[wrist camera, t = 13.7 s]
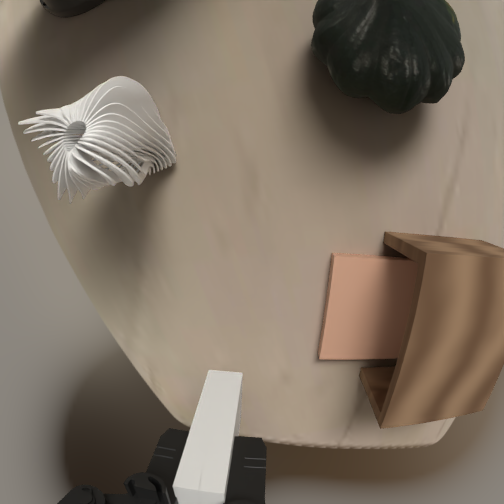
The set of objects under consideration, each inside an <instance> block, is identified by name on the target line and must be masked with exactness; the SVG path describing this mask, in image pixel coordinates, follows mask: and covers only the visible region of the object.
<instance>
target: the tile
mask: <svg viewBox="0 0 504 504" xmlns="http://www.w3.org/2000/svg"><path fill="white" fill-rule="evenodd" d="M417 269H418V263H416V262H414V261H413V260H411V259H410V258H403V257H389V256H374V255H360V254H345V253H332V256H331V265H330V273H329V281H328V289H327V296H326V304H325V311H324V317H323V324H322V330H321V337H320V343H319V349H318V355H319V359H397V358H398V356H399V352H400V348H401V344H402V341H403V337H404V333H405V329H406V324H407V320H408V316H409V311H410V306H411V302H412V297H413V292H414V286H415V281H416V275H417Z"/></svg>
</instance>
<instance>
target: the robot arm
mask: <svg viewBox="0 0 504 504" xmlns="http://www.w3.org/2000/svg"><path fill="white" fill-rule="evenodd" d="M103 1H105V0H40V2H41V4H42V6H43V7H44V8H45V9H46V10H48V11H49V12H51V13H52V14H54V15H56V16H59V17H70V16H75V15H78V14H81V13H83V12H86V11H88V10H90V9H92V8H94V7H95V6H97V5H99V4H100V3H102V2H103ZM242 375H243V373H240V372H228V371H217V370H209V371H208V374H207V378H206V381H205V384H204V387H203V390H202V394H201V397H200V400H199V403H198V406H197V409H196V413H195V416H194V419H193V422H192V425H191V429H190V431H182V430H177V429H171V428H169V429H168V430H167V431H166V432H165V433H164V434H163V435H161V437H160V439H159V442H158V444H157V448H156V449H155V452H154V455H153V456H152V459H151V462H150V464H149V466H148V469H147V472H146V473H143V472H142V473H137V474H133V475H132V476H130V477H128V478H127V479H126V481H125V482H124V485H125V487H126V489H127V492H128V493H127V494H103V493H102V492H101V491H100V490H98V488H96V487H93V486H91V485H81V486H77V487H75V488H73V489H72V490H71V491H70V492H69V493H68V494H67V495H66V496H65V497H64V498H63V499H62V500H61V501H60V502H59V503H58V504H265V475H266V446H265V444H264V442H263V440H262V438H255V437H241V436H239V428H240V421H241V404H242Z"/></svg>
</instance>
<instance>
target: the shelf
mask: <svg viewBox="0 0 504 504" xmlns="http://www.w3.org/2000/svg"><path fill="white" fill-rule="evenodd" d="M384 243H385V244H387V245H388V246H390V247H392V248H393V249H395V250H397V251H398V252H400V253H401V254H403V255H405V256H406V257H408V258H410V259H411V260H413V261H414V262H416V263H418V269H417V275H416V281H415V286H414V292H413V297H412V302H411V306H410V311H409V316H408V320H407V324H406V329H405V333H404V337H403V341H402V344H401V348H400V352H399V356H398V359H397V363H396V366H390V367H368V368H361V371H360V375H359V376H360V378H361V381H362V383H363V386H364V388H365V391H366V393H367V396H368V398H369V401H370V403H371V406H372V408H373V411H374V414H375V416H376V419H377V421H378V424H379V427H380V429H381V428H391V427H399V426H406V425H413V424H420V423H426V422H432V421H437V420H442V419H448V418H452V417H457V416H462V415H466V414H470V413H474V412H478V411H482V410H483V409H484V407H485V405H486V403H487V401H488V399H489V397H490V394H491V392H492V390H493V388H494V386H495V383H496V381H497V379H498V377H499V374H500V372H501V369H502V367H503V364H504V249H503V248H501V247H498V246H495V245H493V244H490V243H487V242H484V241H482V240H472V239H462V238H452V237H441V236H430V235H419V234H408V233H396V232H385V235H384Z"/></svg>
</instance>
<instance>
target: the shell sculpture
mask: <svg viewBox="0 0 504 504" xmlns="http://www.w3.org/2000/svg"><path fill="white" fill-rule="evenodd" d="M36 114H40V115H44V116H39V117H34V118H30V119H26V120H23V121H20V122H18V124H19V125H20V124H31V123H39V124H36V125H34V126H31V127H29V128H28V129H26V130H24V131H23V134H26V133H31V132H36V131H43V132H41V133H40V134H38V135H37V136H35V137H34V138H33V139H31V142H32V141H35V140H38V139H42V138H45V137H50V136H54V137H52V138H51V139H49V140H48V141H46V142H45V143H43V144H42V145H40V146H39V147H38V149H39V148H41V147H43V146H45V145H48V144H50V143H53V142H56V141H59V142H58V143H56V144H55V145H53V146H52V147H50V148H49V149H48V150H46V151H45V152H44V153H43V154H44V155H47V154H49V153H50V152H52V151H54V150H55V151H54V152H53V153H52V154H51V155H50V156H49V157H48V159H47V161H48V162H52V163H51V165H50V170H51V171H54V173H53V177H52V182H53V183H56V182H57V181H58V200H60V199H61V197H62V195H63V193H64V192H65V190H66V188H67V189H68V193H69V201H70V204H71V203H72V200H73V197H74V195H75V193H76V192H77V190H78V189H79V191H80V192H81V194H82V197H83V199H84V198H85V196H86V194H87V193H88V192H89V190H90V189H93V190H98V189H100V188H102V187H103V186H108V185H110V184H111V185H113V186H115V184H116V183H119V182H124V184H125V185H127V186H130V187H132V186H133V185H134V182H137V184H138V185H140V184H141V183H142V182H143V180H144V179H145V177H146V175H147V173H148V172H149V175H151V167H153V173H155V167H154V163H155V164H156V169H157V172H158V171H159V167H160V169H161V170H163V167H164V168H167V165H168V166H170V167H171V166H172V163H175V162H176V158H175V157H176V152H175V149H174V147H173V144H172V141H171V137H170V134H169V132H168V128H167V127H166V126H165V125H164V123H163V121H162V120H161V118H160V114H159V111H158V108H157V106H156V104H155V102H154V100H153V99H152V97H151V95H150V94H149V93H148V91H147V90H146V89H145V88H144V87H143V86H142V85H141V84H140V83H138V82H137V81H135V80H132V79H130V78H128V77H125V76H117V77H113V78H111V79H109V80H107V81H106V82H104V83H102V84H100V85H99V86H97V87H96V88H95V89H93V90H92V92H90V93H88V94H87V95H85V96H84V97H83V98H81V99H80V100H78V101H76V102H74V103H72V104H71V105H66V106H63V107H61V108H57V109H47V110H40V111H37V112H36ZM44 130H45V131H44ZM56 131H64V132H56ZM53 132H54V133H53ZM73 134H84V135H73ZM69 135H70V136H69ZM78 137H83V138H78ZM60 140H61V141H60ZM144 150H146V151H149V152H152V153H154V154H155V155H156V156H157V157H158V158H157V157H156V156H155V155H153V154H151V153H149V152H146V151H144ZM154 157H155V158H156V159H155V158H154ZM91 158H94V159H93V160H92V159H91ZM106 159H107V160H106ZM95 160H98V161H100V162H101V164H99V165H97V164H95V163H94V162H93V161H95ZM156 160H157V162H158V164H157V162H156ZM114 161H117V162H119V164H117V165H114V164H113V163H111V162H114ZM126 161H129V162H128V163H126ZM137 162H138V163H137ZM141 162H142V164H141V165H140V166H139V164H140V163H141ZM152 162H153V163H152ZM130 163H132V164H131V166H130V165H129V164H130ZM120 164H122V166H120V167H117V166H118V165H120ZM101 165H105V166H107V167H108V168H105V169H104V168H102V167H100V166H101ZM134 165H135V166H134ZM158 165H159V167H158ZM162 165H163V166H162ZM133 166H134V168H132V167H133ZM122 168H123V169H122ZM136 168H138V169H137V170H136V171H135V169H136ZM108 169H110V170H111V171H109V170H108ZM139 170H140V171H141V172H139ZM138 172H139V173H138Z"/></svg>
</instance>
